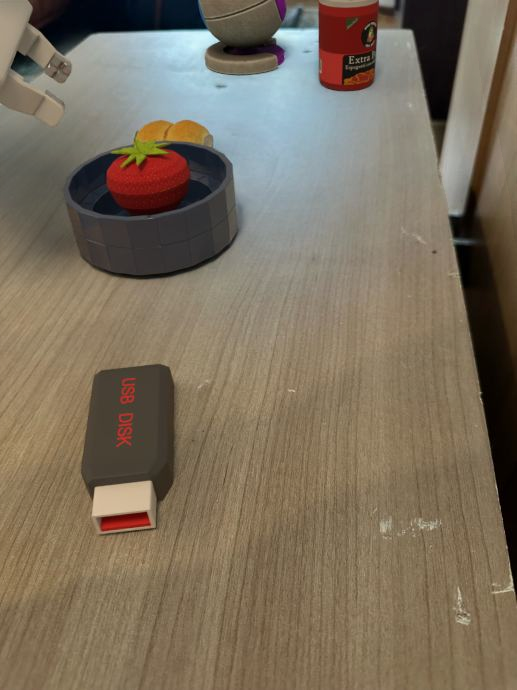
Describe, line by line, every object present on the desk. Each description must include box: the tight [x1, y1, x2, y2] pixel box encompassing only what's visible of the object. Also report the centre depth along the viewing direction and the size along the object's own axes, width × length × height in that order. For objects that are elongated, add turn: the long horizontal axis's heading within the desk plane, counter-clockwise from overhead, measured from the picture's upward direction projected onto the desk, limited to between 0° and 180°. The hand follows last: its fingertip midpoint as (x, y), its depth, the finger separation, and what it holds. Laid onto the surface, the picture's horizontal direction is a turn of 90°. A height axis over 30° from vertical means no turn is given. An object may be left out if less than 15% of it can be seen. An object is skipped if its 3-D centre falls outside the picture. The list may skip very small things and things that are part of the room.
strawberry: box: [107, 130, 191, 216], centre depth 58 cm, size 6×8×10 cm
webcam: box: [197, 0, 288, 76], centre depth 94 cm, size 13×13×15 cm
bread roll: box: [132, 119, 214, 149], centre depth 73 cm, size 8×9×4 cm
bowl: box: [61, 141, 239, 276], centre depth 60 cm, size 15×15×6 cm
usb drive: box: [80, 363, 175, 535], centre depth 40 cm, size 5×12×3 cm, turn 6°
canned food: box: [317, 0, 380, 92], centre depth 86 cm, size 8×8×11 cm
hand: (65, 94), depth 52 cm, fingers open, 8 cm apart
